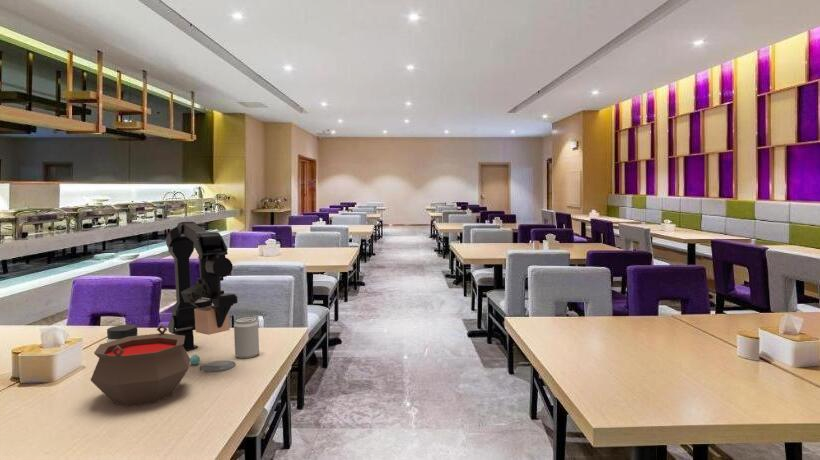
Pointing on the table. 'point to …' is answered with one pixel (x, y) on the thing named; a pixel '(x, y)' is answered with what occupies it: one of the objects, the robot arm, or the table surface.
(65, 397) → the table surface
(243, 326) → the can
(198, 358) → the marble teal
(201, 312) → the peach beveled cube
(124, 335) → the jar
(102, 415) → the table surface
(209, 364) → the coaster
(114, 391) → the brown cauldron
